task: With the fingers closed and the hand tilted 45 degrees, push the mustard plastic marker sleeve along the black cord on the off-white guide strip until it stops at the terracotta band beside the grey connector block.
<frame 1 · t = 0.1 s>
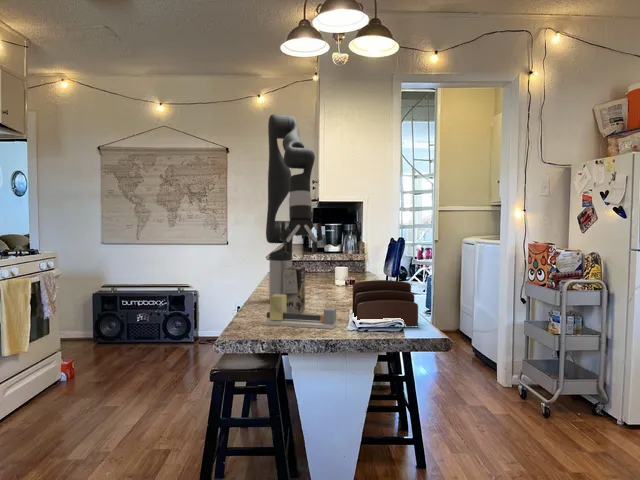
hand: (301, 253, 151), 22 cm above the countertop, tool pointing down, fingers open, 8 cm apart
coffee box: (294, 311, 167), on the countertop
sleeve: (278, 306, 148), point 5 cm above the countertop, slide at 0.0 cm
letter holder: (384, 325, 148), on the countertop
cable guide: (300, 323, 147), on the countertop
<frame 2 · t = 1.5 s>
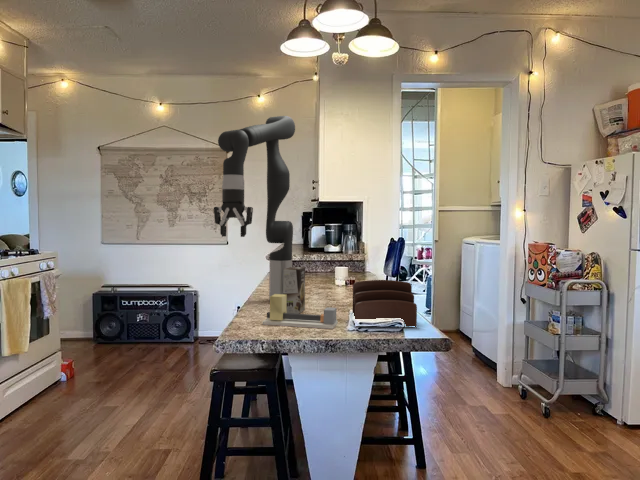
hand: (233, 236, 158), 28 cm above the countertop, tool pointing down, fingers open, 6 cm apart
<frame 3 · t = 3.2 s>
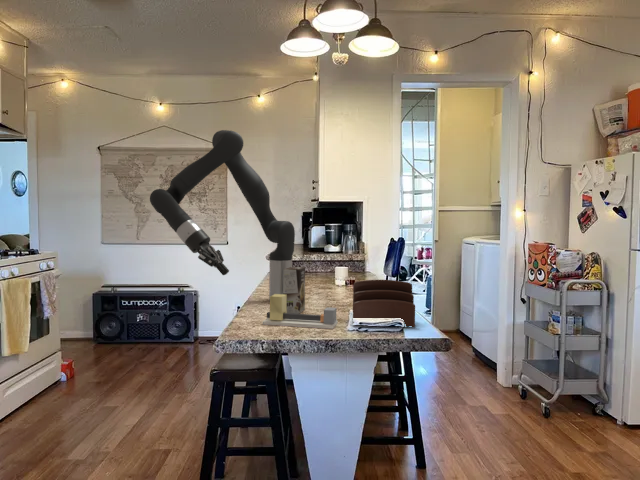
hand: (226, 273, 152), 16 cm above the countertop, tool tilted 45°, fingers closed
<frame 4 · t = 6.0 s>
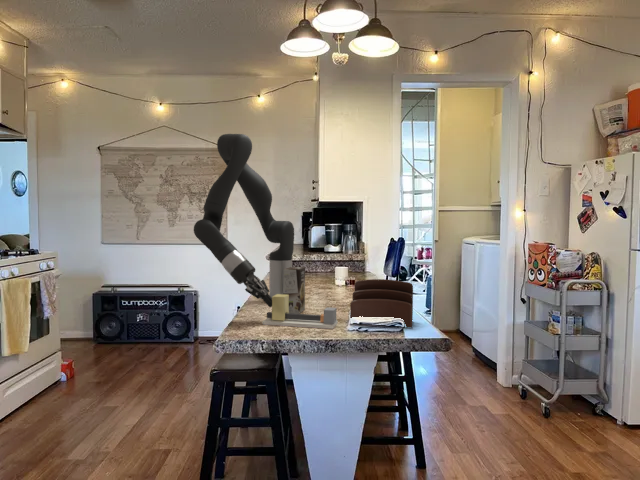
hand: (273, 305, 149), 6 cm above the countertop, tool tilted 45°, fingers closed
sleeve: (280, 307, 148), point 5 cm above the countertop, slide at 0.7 cm, touching gripper
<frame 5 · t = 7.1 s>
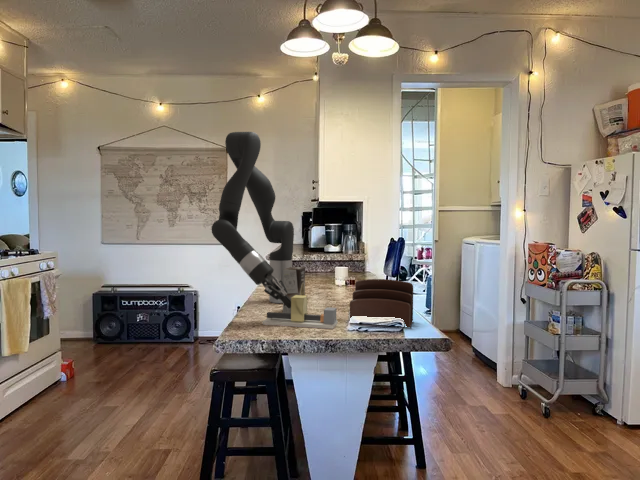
hand: (291, 306, 147), 6 cm above the countertop, tool tilted 45°, fingers closed
sleeve: (299, 308, 147), point 5 cm above the countertop, slide at 7.1 cm, touching gripper
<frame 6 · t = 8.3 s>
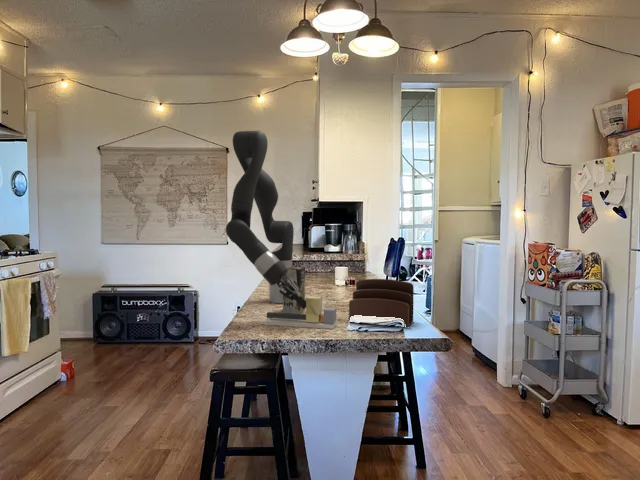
hand: (306, 306, 146), 6 cm above the countertop, tool tilted 45°, fingers closed
sleeve: (314, 308, 146), point 5 cm above the countertop, slide at 12.1 cm, touching gripper
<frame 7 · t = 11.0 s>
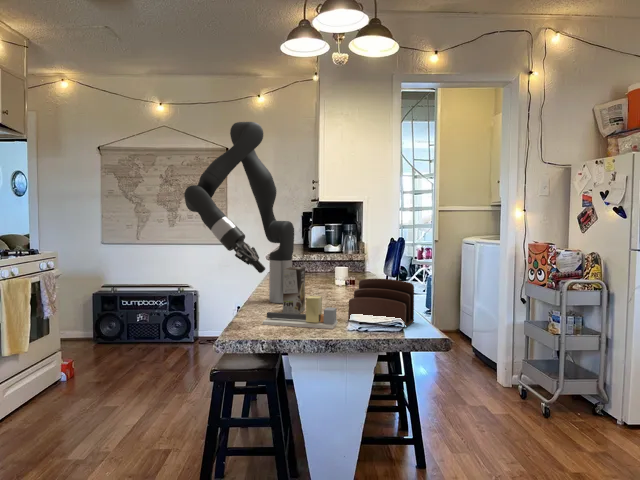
hand: (263, 271, 149), 17 cm above the countertop, tool tilted 45°, fingers closed
sleeve: (314, 308, 146), point 5 cm above the countertop, slide at 12.0 cm
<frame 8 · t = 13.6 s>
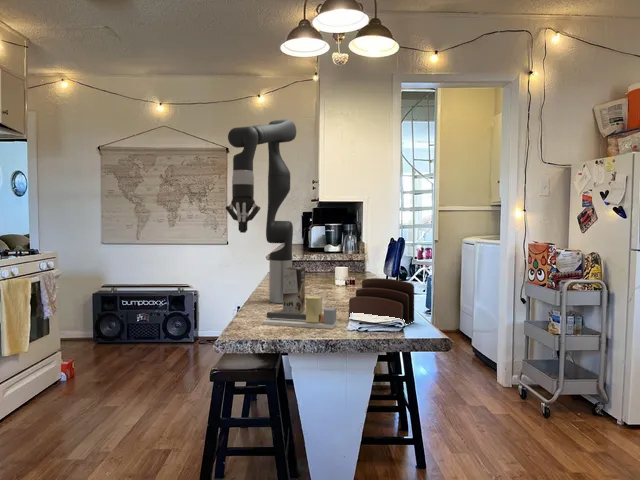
hand: (242, 232, 162), 29 cm above the countertop, tool pointing down, fingers closed
at the end: sleeve slide at 12.0 cm; the gripper is holding nothing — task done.
